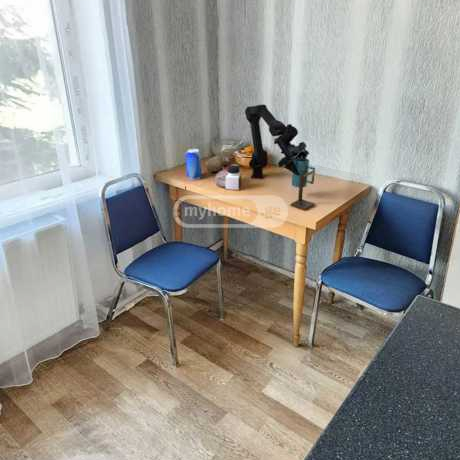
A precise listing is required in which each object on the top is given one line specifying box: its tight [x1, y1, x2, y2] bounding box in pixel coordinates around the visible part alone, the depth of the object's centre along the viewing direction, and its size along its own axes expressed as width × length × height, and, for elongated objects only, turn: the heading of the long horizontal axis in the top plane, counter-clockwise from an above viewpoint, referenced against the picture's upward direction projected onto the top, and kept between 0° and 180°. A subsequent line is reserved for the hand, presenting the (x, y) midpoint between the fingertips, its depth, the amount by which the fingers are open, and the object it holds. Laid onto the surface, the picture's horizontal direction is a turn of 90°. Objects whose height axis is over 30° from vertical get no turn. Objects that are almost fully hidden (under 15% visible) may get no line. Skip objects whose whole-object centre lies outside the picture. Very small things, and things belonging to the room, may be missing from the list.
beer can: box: [185, 148, 203, 181], centre depth 219 cm, size 8×8×16 cm
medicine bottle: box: [225, 164, 242, 191], centre depth 206 cm, size 7×7×12 cm
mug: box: [291, 157, 316, 188], centre depth 192 cm, size 12×7×13 cm, turn 44°
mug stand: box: [290, 169, 316, 212], centre depth 186 cm, size 8×16×14 cm, turn 135°
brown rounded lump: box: [204, 154, 230, 173], centre depth 236 cm, size 13×8×20 cm
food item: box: [215, 166, 228, 189], centre depth 211 cm, size 14×8×10 cm, turn 156°
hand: (302, 172), depth 192 cm, fingers closed on mug, 7 cm apart
